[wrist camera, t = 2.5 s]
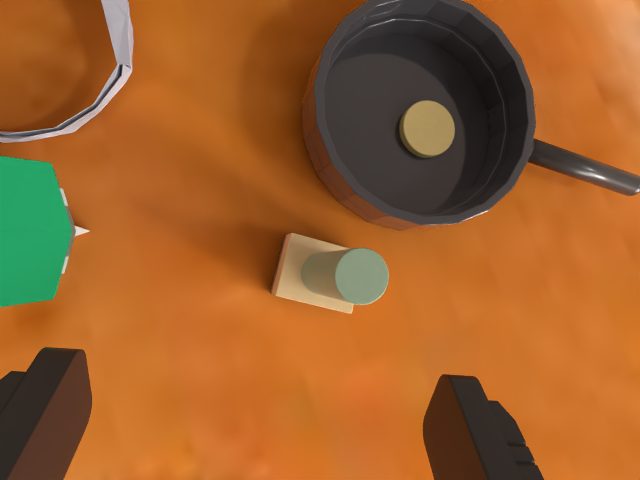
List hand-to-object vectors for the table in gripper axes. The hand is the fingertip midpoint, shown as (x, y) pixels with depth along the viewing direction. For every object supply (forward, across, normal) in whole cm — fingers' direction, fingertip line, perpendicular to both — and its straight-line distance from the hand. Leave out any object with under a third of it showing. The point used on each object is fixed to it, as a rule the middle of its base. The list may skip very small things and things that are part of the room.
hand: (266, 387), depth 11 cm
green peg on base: (+19, -3, +10) cm, 21 cm away
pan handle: (+23, -22, +2) cm, 32 cm away
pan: (+26, -9, +1) cm, 27 cm away
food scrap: (+25, -10, +1) cm, 27 cm away
